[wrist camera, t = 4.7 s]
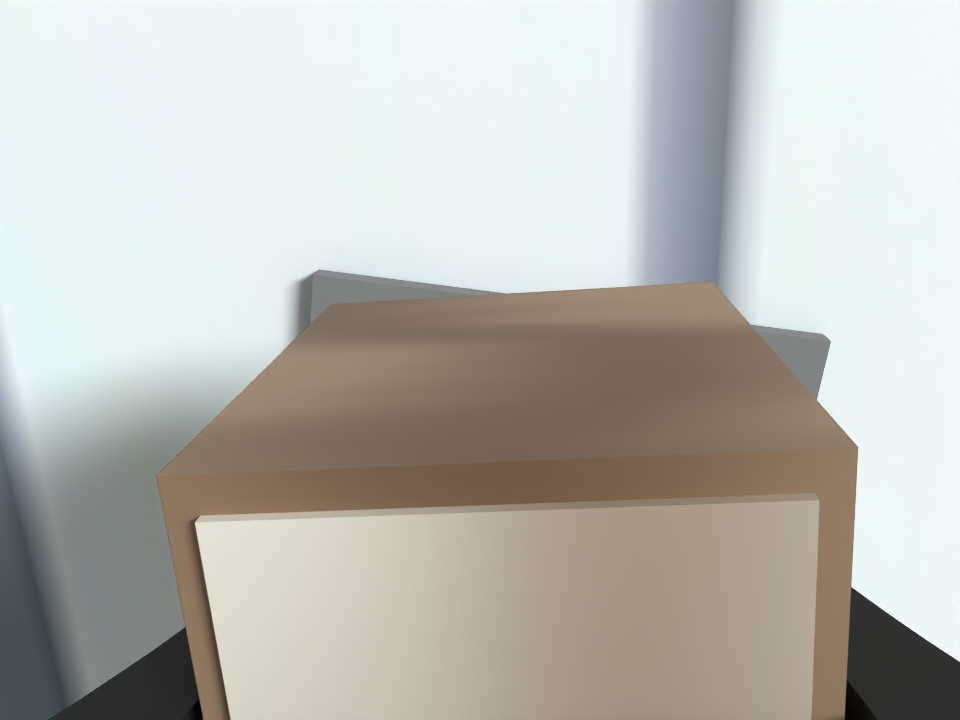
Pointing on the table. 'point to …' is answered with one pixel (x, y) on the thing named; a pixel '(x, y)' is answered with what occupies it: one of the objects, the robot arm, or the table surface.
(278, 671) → the brown rectangular block
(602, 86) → the table surface
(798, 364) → the mat
